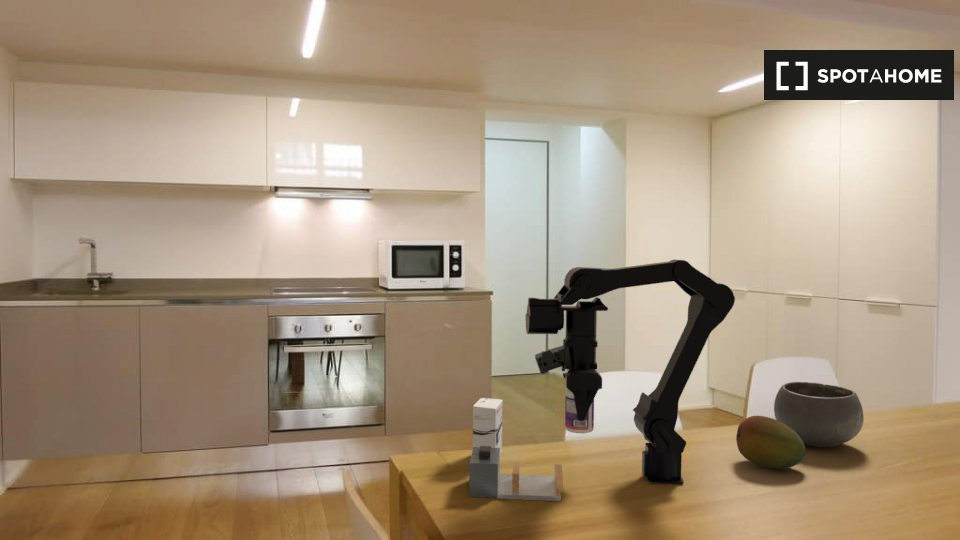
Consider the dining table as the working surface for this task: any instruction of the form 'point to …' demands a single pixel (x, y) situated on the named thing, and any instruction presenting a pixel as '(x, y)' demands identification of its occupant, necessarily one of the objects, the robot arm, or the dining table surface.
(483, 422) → the ink box
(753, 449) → the fruit
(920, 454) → the dining table surface
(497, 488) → the grey block with slats
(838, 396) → the bowl
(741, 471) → the dining table surface
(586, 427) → the pill bottle
